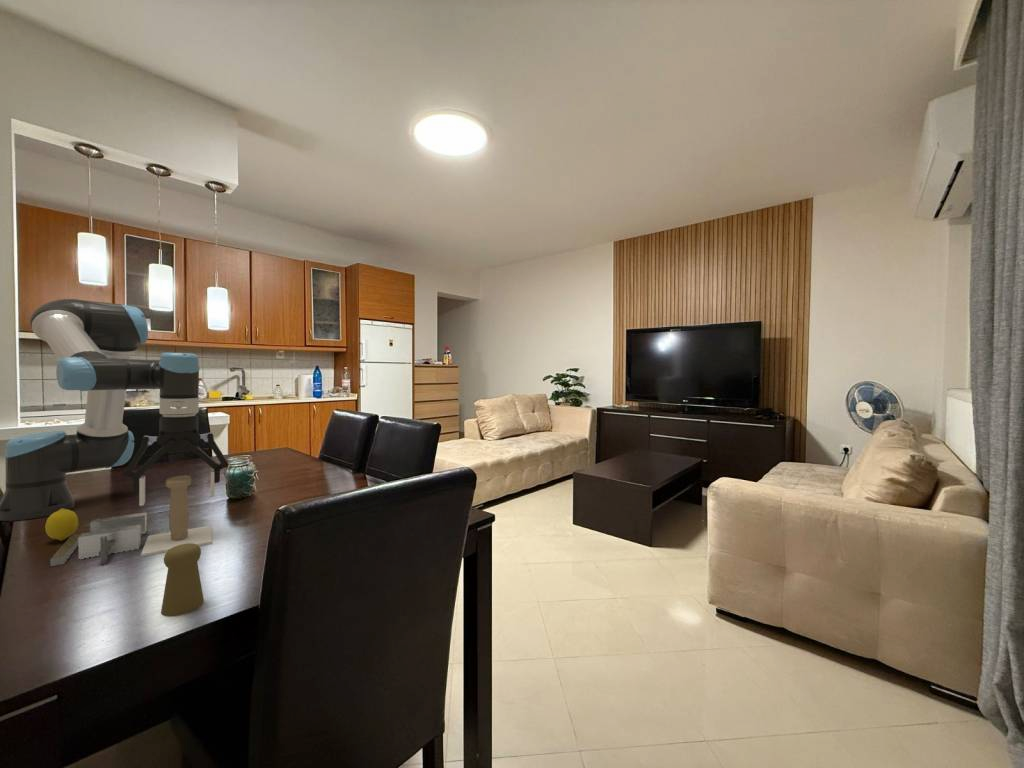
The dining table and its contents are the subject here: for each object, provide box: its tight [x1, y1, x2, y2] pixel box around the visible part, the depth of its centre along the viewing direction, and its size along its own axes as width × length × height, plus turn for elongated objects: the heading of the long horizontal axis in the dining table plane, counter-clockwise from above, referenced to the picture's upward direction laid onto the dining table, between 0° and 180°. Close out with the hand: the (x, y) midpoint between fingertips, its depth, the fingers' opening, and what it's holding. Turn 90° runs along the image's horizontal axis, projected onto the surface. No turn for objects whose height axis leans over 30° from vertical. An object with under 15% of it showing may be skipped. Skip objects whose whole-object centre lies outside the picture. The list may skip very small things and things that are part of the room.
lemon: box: [44, 508, 79, 542], centre depth 101 cm, size 6×6×8 cm
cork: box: [160, 543, 205, 617], centre depth 74 cm, size 6×6×11 cm
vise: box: [49, 512, 148, 567], centre depth 96 cm, size 21×14×7 cm, turn 36°
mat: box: [140, 524, 213, 557], centre depth 102 cm, size 13×13×1 cm
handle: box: [165, 475, 192, 541], centre depth 102 cm, size 5×6×15 cm
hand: (178, 499), depth 102 cm, fingers open, 13 cm apart
